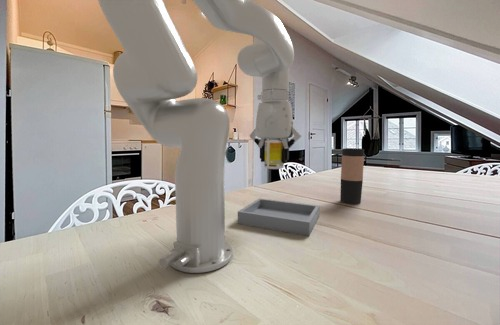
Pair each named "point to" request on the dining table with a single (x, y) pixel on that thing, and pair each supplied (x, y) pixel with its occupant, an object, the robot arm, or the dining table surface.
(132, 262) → the dining table surface
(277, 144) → the supplement bottle
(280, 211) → the tray
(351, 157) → the travel mug
